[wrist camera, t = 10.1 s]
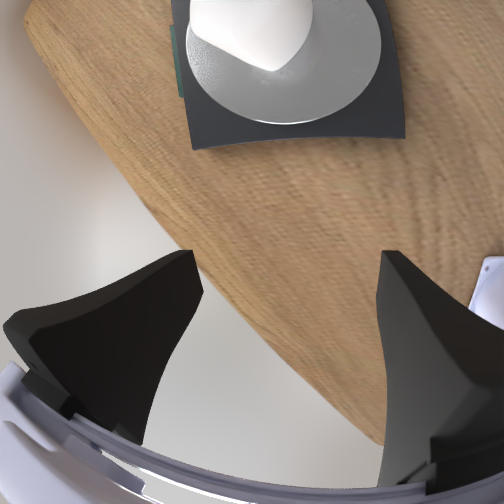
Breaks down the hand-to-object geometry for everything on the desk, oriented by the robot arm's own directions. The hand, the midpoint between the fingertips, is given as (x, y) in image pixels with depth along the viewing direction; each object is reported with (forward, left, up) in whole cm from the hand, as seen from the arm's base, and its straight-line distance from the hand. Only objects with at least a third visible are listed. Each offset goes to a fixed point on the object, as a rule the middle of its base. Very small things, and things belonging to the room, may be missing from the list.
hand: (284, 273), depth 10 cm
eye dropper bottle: (+11, 0, -8) cm, 14 cm away
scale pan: (+11, 0, -9) cm, 14 cm away
